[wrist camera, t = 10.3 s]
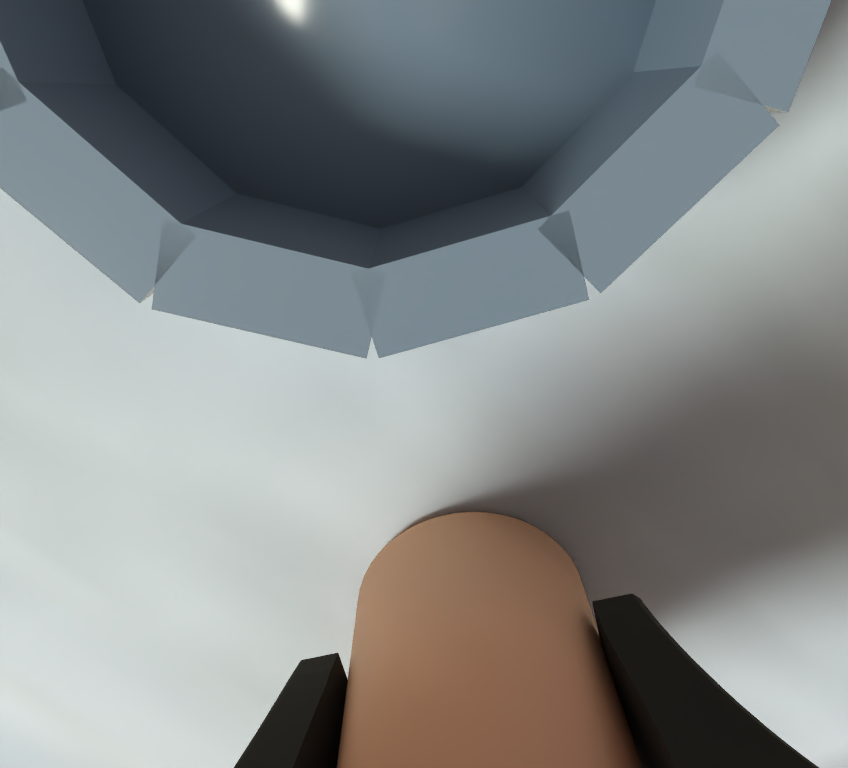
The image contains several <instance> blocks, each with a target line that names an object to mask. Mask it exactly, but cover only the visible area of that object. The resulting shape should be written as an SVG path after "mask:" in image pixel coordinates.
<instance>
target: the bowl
mask: <svg viewBox="0 0 848 768" xmlns="http://www.w3.org/2000/svg"><path fill="white" fill-rule="evenodd" d="M830 3H831V0H0V188H1V189H2V190H3V191H4V192H6V193H7V194H8V195H9V196H10V197H12V198H13V199H14V200H15V201H17V202H18V203H19V204H20V205H21V206H23V207H24V208H25V209H26V210H27V211H29V212H30V213H31V214H32V215H33V216H35V217H36V218H37V219H38V220H40V221H41V222H42V223H43V224H44V225H46V226H47V227H48V228H49V229H50V230H52V231H53V232H54V233H55V234H56V235H58V236H59V237H60V238H61V239H63V240H64V241H65V242H66V243H67V244H69V245H70V246H71V247H72V248H73V249H75V250H76V251H77V252H78V253H79V254H81V255H82V256H83V257H84V258H86V259H87V260H88V261H89V262H90V263H92V264H93V265H94V266H95V267H96V268H98V269H99V270H100V271H101V272H102V273H104V274H105V275H106V276H107V277H109V278H110V279H111V280H112V281H113V282H115V283H116V284H117V285H118V286H119V287H121V288H122V289H123V290H124V291H126V292H127V293H128V294H129V295H130V296H132V297H133V298H134V299H135V300H136V301H138V302H139V303H141V302H142V301H143V300H145V299H146V298H147V297H149V296H150V295H151V294H153V293H154V295H153V303H152V309H153V310H158V311H162V312H166V313H171V314H175V315H179V316H184V317H188V318H192V319H197V320H201V321H205V322H210V323H214V324H219V325H223V326H227V327H232V328H236V329H240V330H245V331H249V332H253V333H258V334H262V335H266V336H271V337H275V338H280V339H284V340H288V341H293V342H297V343H301V344H306V345H310V346H314V347H319V348H323V349H327V350H332V351H336V352H341V353H345V354H349V355H354V356H358V357H362V358H367V354H368V350H369V345H370V341H371V336H372V339H373V342H374V345H375V348H376V351H377V354H378V357H379V358H381V357H385V356H389V355H392V354H396V353H399V352H403V351H407V350H410V349H414V348H417V347H421V346H425V345H428V344H432V343H435V342H439V341H443V340H446V339H450V338H453V337H457V336H461V335H464V334H468V333H471V332H475V331H479V330H482V329H486V328H489V327H493V326H496V325H500V324H504V323H507V322H511V321H514V320H518V319H522V318H525V317H529V316H532V315H536V314H540V313H543V312H547V311H550V310H554V309H558V308H561V307H565V306H568V305H572V304H576V303H579V302H583V301H586V300H589V297H588V293H587V288H586V284H585V279H584V277H585V278H586V279H587V280H588V281H589V282H590V283H591V284H592V285H593V286H594V287H595V288H596V289H597V290H598V291H599V292H600V293H601V292H602V291H604V290H605V289H606V288H607V287H608V286H609V285H610V284H611V283H612V282H613V281H614V280H615V279H616V278H617V277H618V276H619V275H621V274H622V273H623V272H624V271H625V270H626V269H627V268H628V267H629V266H630V265H631V264H632V263H633V262H634V261H635V260H636V259H638V258H639V257H640V256H641V255H642V254H643V253H644V252H645V251H646V250H647V249H648V248H649V247H650V246H651V245H652V244H653V243H655V242H656V241H657V240H658V239H659V238H660V237H661V236H662V235H663V234H664V233H665V232H666V231H667V230H668V229H669V228H670V227H672V226H673V225H674V224H675V223H676V222H677V221H678V220H679V219H680V218H681V217H682V216H683V215H684V214H685V213H686V212H687V211H689V210H690V209H691V208H692V207H693V206H694V205H695V204H696V203H697V202H698V201H699V200H700V199H701V198H702V197H703V196H704V195H706V194H707V193H708V192H709V191H710V190H711V189H712V188H713V187H714V186H715V185H716V184H717V183H718V182H719V181H720V180H721V179H723V178H724V177H725V176H726V175H727V174H728V173H729V172H730V171H731V170H732V169H733V168H734V167H735V166H736V165H737V164H738V163H740V162H741V161H742V160H743V159H744V158H745V157H746V156H747V155H748V154H749V153H750V152H751V151H752V150H753V149H754V148H755V147H757V146H758V145H759V144H760V143H761V142H762V141H763V140H764V139H765V138H766V137H767V136H768V135H769V134H770V133H771V132H772V131H774V130H775V129H776V128H777V127H778V126H779V124H778V123H777V122H776V120H775V119H774V118H773V117H772V116H771V114H770V113H769V112H768V111H778V112H788V111H789V108H790V106H791V103H792V101H793V98H794V96H795V93H796V90H797V88H798V85H799V83H800V80H801V78H802V75H803V72H804V70H805V67H806V65H807V62H808V60H809V57H810V54H811V52H812V49H813V47H814V44H815V42H816V39H817V36H818V34H819V31H820V29H821V26H822V24H823V21H824V18H825V16H826V13H827V11H828V8H829V6H830Z"/></svg>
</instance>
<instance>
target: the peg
mask: <svg viewBox="0 0 848 768" xmlns="http://www.w3.org/2000/svg"><path fill="white" fill-rule="evenodd" d="M337 768H642V765H641V762H640V759H639V756H638V753H637V750H636V747H635V743H634V740H633V737H632V734H631V731H630V728H629V725H628V722H627V719H626V716H625V713H624V710H623V707H622V704H621V701H620V698H619V695H618V692H617V689H616V686H615V683H614V680H613V677H612V674H611V670H610V667H609V664H608V661H607V658H606V655H605V652H604V649H603V646H602V643H601V640H600V637H599V633H598V629H597V626H596V623H595V620H594V617H593V614H592V611H591V608H590V605H589V602H588V599H587V596H586V593H585V589H584V586H583V583H582V580H581V578H580V575H579V572H578V570H577V568H576V566H575V564H574V563H573V561H572V559H571V558H570V557H569V555H568V554H567V553H566V551H565V550H564V549H563V548H562V547H561V546H560V545H559V544H558V543H557V542H556V541H555V540H554V539H552V538H551V537H550V536H549V535H547V534H546V533H545V532H543V531H541V530H540V529H538V528H536V527H534V526H533V525H531V524H528V523H526V522H524V521H521V520H519V519H516V518H512V517H509V516H505V515H501V514H494V513H488V512H462V513H453V514H448V515H443V516H439V517H435V518H432V519H429V520H426V521H424V522H422V523H419V524H417V525H415V526H413V527H411V528H409V529H408V530H406V531H404V532H403V533H401V534H399V535H398V536H397V537H396V538H394V539H393V540H392V541H391V542H389V543H388V544H387V545H386V546H385V547H384V548H383V549H382V550H381V551H380V552H379V553H378V555H377V556H376V558H375V559H374V560H373V562H372V563H371V564H370V566H369V568H368V570H367V572H366V574H365V576H364V578H363V581H362V584H361V587H360V592H359V597H358V604H357V612H356V619H355V627H354V635H353V643H352V651H351V659H350V667H349V675H348V683H347V690H346V698H345V706H344V714H343V722H342V730H341V738H340V746H339V753H338V761H337Z"/></svg>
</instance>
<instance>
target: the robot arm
mask: <svg viewBox="0 0 848 768" xmlns="http://www.w3.org/2000/svg"><path fill="white" fill-rule="evenodd" d="M593 607H594V612H595V617H596V622H597V627H598V632H599V637H600V640H601V643H602V646H603V649H604V652H605V655H606V658H607V661H608V664H609V667H610V670H611V674H612V677H613V680H614V683H615V686H616V689H617V692H618V695H619V698H620V701H621V704H622V707H623V710H624V713H625V716H626V719H627V722H628V725H629V728H630V731H631V734H632V737H633V740H634V743H635V747H636V750H637V753H638V756H639V759H640V762H641V765H642V768H819V767H817V766H816V765H815V764H813V763H812V762H811V761H809V760H808V759H807V758H805V757H804V756H802V755H801V754H800V753H798V752H797V751H796V750H795V749H793V748H792V747H791V746H789V745H788V744H787V743H786V742H784V741H783V740H782V739H781V738H779V737H778V736H777V735H776V734H775V733H773V732H772V731H771V730H770V729H768V728H767V727H766V726H765V725H764V724H762V723H761V722H760V721H759V720H758V719H757V718H756V717H754V716H753V715H752V714H751V713H750V712H749V711H747V710H746V709H745V708H744V707H743V706H742V705H740V704H739V703H738V702H737V701H736V700H735V699H734V698H733V697H732V696H731V695H729V694H728V693H727V692H726V691H725V690H724V689H723V688H722V687H721V686H720V685H719V684H718V683H717V682H716V681H715V680H714V679H713V678H712V677H710V676H709V675H708V674H707V673H706V672H705V671H704V670H703V669H702V668H701V667H700V666H699V665H698V664H697V663H696V662H695V661H694V660H693V659H692V658H691V657H690V656H689V655H688V654H687V653H686V652H685V651H684V650H683V649H682V647H681V646H680V645H679V644H678V643H677V642H676V641H675V640H674V639H673V638H672V637H671V636H670V634H669V633H668V632H667V631H666V630H665V629H664V628H663V627H662V625H661V624H660V623H659V622H658V621H657V620H656V618H655V617H654V616H653V615H652V613H651V612H650V611H649V610H648V608H647V607H646V606H645V605H644V603H643V602H642V600H641V599H640V598H638V597H637V596H635V595H634V594H627V595H623V596H618V597H613V598H608V599H603V600H598V601H593ZM347 683H348V680H347V677H346V674H345V671H344V668H343V665H342V663H341V660H340V657H339V654H338V653H335V654H330V655H325V656H320V657H315V658H310V659H305V660H301V661H300V663H299V664H298V666H297V667H296V669H295V671H294V672H293V674H292V675H291V677H290V678H289V680H288V682H287V683H286V685H285V687H284V688H283V690H282V692H281V693H280V695H279V697H278V698H277V700H276V702H275V703H274V705H273V706H272V708H271V710H270V711H269V713H268V715H267V716H266V718H265V720H264V721H263V723H262V724H261V726H260V728H259V729H258V731H257V732H256V734H255V736H254V737H253V739H252V740H251V742H250V743H249V745H248V746H247V748H246V750H245V751H244V753H243V754H242V756H241V757H240V759H239V760H238V762H237V764H236V765H235V767H234V768H337V761H338V753H339V746H340V738H341V730H342V722H343V714H344V706H345V698H346V690H347Z"/></svg>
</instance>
